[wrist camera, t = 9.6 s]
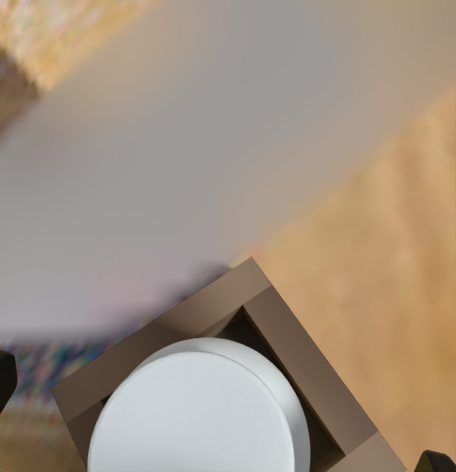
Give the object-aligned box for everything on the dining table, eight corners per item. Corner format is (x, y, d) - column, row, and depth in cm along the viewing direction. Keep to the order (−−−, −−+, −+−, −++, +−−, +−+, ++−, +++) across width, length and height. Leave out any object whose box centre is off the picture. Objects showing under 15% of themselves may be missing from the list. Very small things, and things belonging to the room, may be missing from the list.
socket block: (188, 610, 15) (174, 658, 12) (80, 390, 18) (49, 388, 15) (380, 457, 17) (407, 469, 14) (251, 276, 20) (251, 256, 17)
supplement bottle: (251, 535, 15) (251, 727, 6) (130, 459, 17) (-13, 531, 8) (310, 397, 17) (375, 396, 8) (196, 336, 18) (142, 276, 9)
